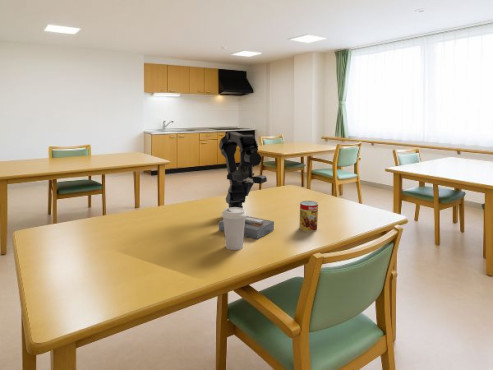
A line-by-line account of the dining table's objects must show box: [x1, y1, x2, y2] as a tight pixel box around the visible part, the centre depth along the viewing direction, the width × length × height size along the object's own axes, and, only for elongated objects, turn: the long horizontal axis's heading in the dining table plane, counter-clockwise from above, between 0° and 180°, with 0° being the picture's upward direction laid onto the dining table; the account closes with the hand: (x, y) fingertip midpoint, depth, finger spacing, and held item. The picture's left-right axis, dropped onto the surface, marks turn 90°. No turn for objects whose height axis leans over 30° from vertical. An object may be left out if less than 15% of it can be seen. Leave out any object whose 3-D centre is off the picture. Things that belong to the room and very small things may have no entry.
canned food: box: [299, 200, 319, 232], centre depth 164 cm, size 8×8×12 cm
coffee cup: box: [221, 207, 248, 251], centre depth 142 cm, size 10×10×15 cm
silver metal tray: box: [218, 215, 275, 240], centre depth 162 cm, size 20×14×6 cm
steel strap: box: [245, 216, 264, 224], centre depth 162 cm, size 16×3×1 cm, turn 57°
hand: (246, 195), depth 171 cm, fingers closed
